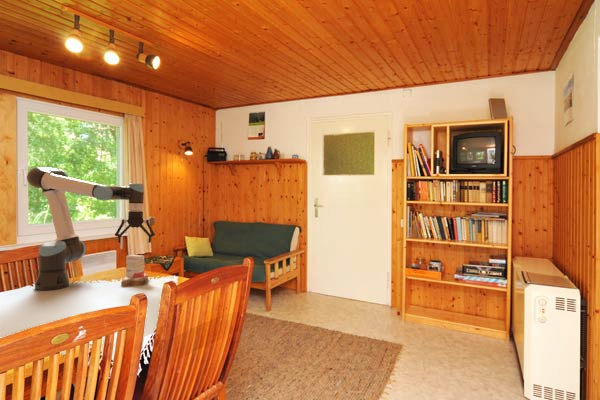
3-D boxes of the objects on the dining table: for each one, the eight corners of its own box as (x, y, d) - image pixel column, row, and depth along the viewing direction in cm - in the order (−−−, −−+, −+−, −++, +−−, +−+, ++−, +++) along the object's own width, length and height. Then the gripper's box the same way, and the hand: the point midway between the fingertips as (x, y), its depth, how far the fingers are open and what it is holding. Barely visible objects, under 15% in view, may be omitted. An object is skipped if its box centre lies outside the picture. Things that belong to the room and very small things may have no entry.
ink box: (144, 275, 206) (145, 255, 205) (139, 277, 201) (139, 256, 201) (131, 274, 208) (132, 254, 207) (125, 276, 203) (125, 255, 203)
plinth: (121, 286, 196) (121, 279, 196) (125, 280, 209) (125, 274, 209) (145, 285, 200) (145, 278, 199) (147, 279, 213) (147, 273, 213)
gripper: (109, 210, 196) (108, 249, 196) (159, 211, 204) (158, 249, 204) (112, 209, 203) (111, 247, 204) (160, 210, 211) (158, 247, 211)
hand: (134, 248), depth 204 cm, fingers open, 13 cm apart
